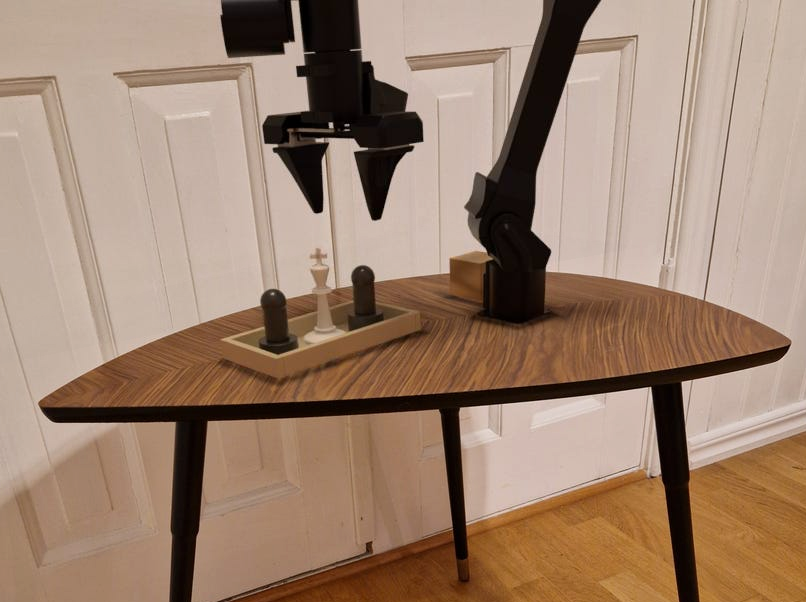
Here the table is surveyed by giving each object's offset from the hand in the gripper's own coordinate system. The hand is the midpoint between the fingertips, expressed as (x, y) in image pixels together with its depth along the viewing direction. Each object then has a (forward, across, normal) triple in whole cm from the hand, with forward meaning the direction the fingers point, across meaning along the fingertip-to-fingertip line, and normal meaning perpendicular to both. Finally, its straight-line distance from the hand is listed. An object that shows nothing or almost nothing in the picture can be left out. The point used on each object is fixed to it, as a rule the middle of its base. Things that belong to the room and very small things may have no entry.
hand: (346, 216), depth 86 cm
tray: (+12, -2, +7) cm, 14 cm away
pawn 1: (+12, -2, +13) cm, 17 cm away
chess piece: (+12, -2, +6) cm, 14 cm away
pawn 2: (+12, -2, +1) cm, 12 cm away
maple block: (+13, -3, -18) cm, 22 cm away
